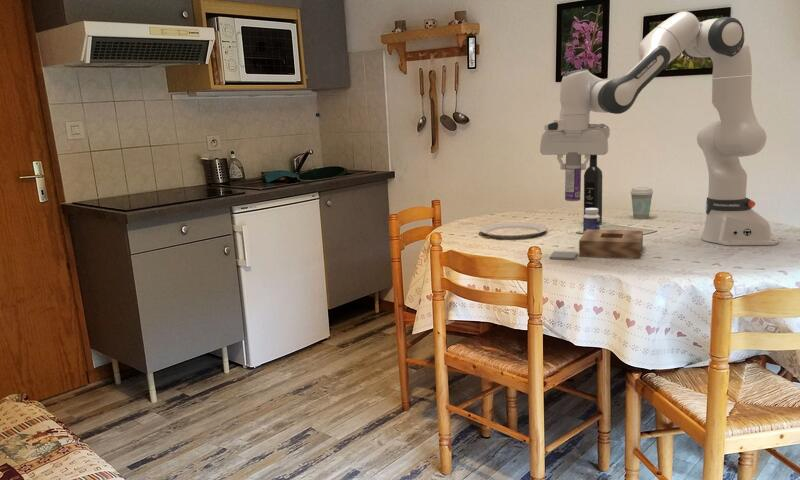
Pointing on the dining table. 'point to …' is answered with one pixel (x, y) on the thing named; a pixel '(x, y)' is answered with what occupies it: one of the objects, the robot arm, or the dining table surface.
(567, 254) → the coaster
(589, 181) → the wine bottle
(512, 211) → the dining table surface
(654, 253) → the dining table surface
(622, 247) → the socket block
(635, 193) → the coffee cup
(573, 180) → the container
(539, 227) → the plate
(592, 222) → the pill bottle
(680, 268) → the dining table surface
